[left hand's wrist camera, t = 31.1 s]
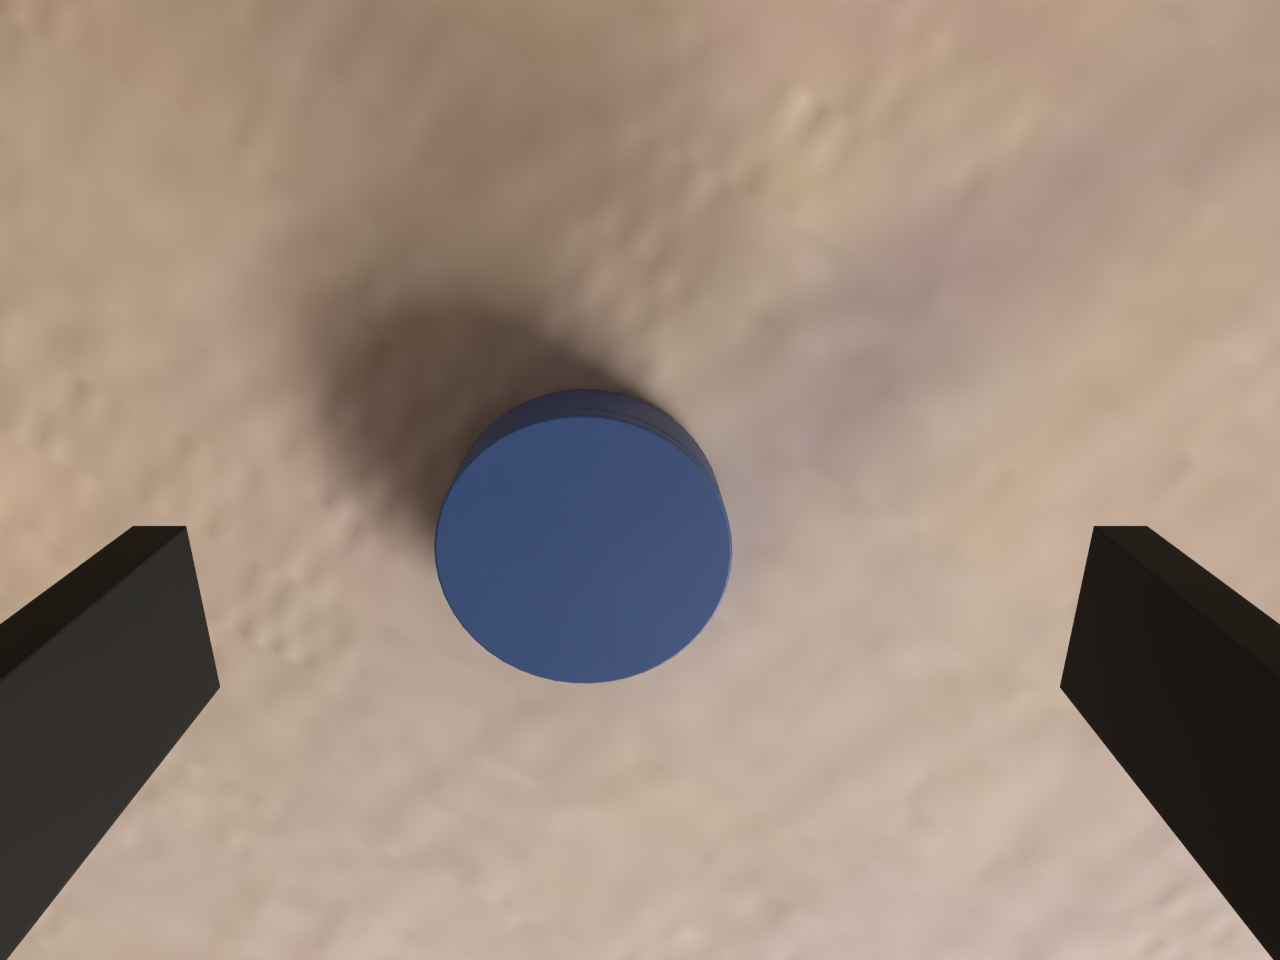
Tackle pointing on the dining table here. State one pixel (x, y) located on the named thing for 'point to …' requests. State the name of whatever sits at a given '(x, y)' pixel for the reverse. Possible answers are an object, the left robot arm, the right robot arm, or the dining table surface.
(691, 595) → the lid
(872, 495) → the dining table surface
